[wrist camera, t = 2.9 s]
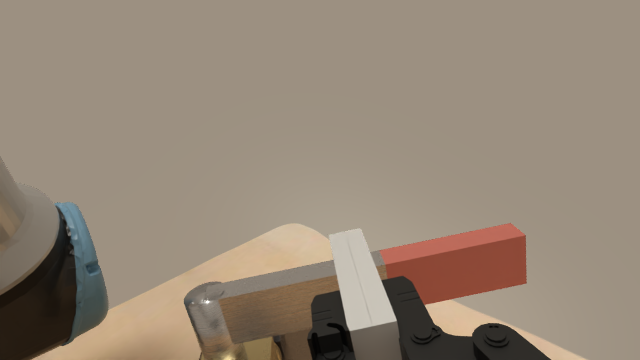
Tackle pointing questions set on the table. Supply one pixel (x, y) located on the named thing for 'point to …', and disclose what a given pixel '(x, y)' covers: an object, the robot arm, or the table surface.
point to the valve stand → (279, 347)
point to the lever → (307, 281)
